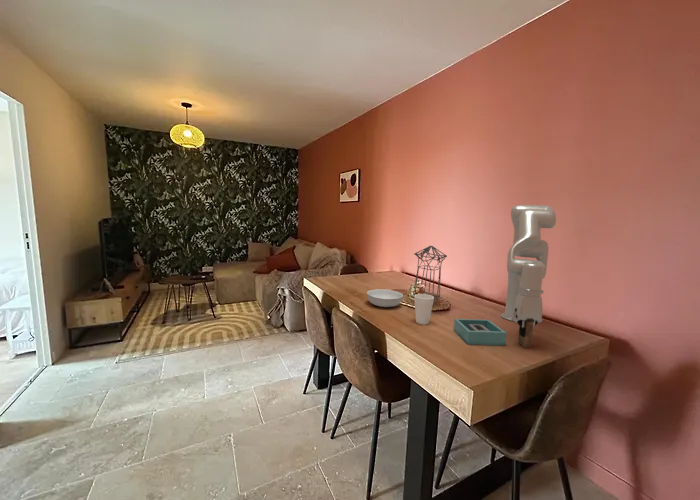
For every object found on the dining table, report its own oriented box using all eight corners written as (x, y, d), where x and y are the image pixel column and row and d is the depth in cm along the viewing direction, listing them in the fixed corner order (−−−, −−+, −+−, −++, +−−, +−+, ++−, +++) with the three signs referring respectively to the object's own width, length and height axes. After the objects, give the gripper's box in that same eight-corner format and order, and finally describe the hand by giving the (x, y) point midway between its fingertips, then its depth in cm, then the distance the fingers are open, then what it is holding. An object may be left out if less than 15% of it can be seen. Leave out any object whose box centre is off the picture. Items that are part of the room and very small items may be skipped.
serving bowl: (362, 307, 176) (363, 295, 175) (370, 298, 196) (371, 287, 195) (399, 312, 170) (400, 300, 169) (404, 302, 190) (405, 291, 189)
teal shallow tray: (487, 331, 147) (488, 319, 146) (505, 345, 131) (506, 332, 130) (453, 330, 146) (454, 318, 145) (467, 344, 130) (468, 331, 129)
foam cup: (410, 323, 154) (411, 297, 152) (415, 317, 162) (417, 293, 160) (429, 326, 149) (431, 300, 148) (434, 321, 157) (436, 296, 156)
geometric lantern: (419, 297, 202) (425, 243, 198) (443, 303, 192) (449, 246, 188) (407, 302, 190) (413, 244, 185) (432, 308, 180) (438, 247, 176)
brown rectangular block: (523, 342, 134) (526, 315, 132) (530, 347, 129) (534, 319, 127) (517, 341, 134) (521, 315, 132) (524, 347, 129) (528, 319, 127)
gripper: (543, 290, 132) (538, 332, 135) (506, 289, 132) (501, 332, 134) (555, 295, 125) (549, 340, 127) (515, 294, 124) (511, 339, 127)
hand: (525, 335), depth 131 cm, fingers closed on brown rectangular block, 2 cm apart
